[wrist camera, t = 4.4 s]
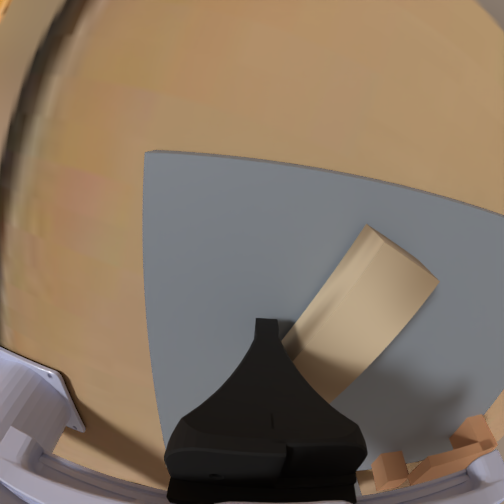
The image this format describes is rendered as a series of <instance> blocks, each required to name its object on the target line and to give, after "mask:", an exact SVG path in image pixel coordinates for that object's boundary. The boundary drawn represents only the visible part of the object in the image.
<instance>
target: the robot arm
mask: <svg viewBox="0 0 504 504" xmlns="http://www.w3.org/2000/svg"><path fill="white" fill-rule="evenodd" d="M278 335H279V325H278V320H277V319H267V318H256V321H255V333H254V340H253V342H252V344H251V346H250V348H249V350H248V351H247V353H246V355H245V356H244V358H243V359H242V361H241V362H240V364H239V365H238V367H237V368H236V369H235V371H234V372H233V373H232V374H231V376H230V377H229V378H228V379H227V380H226V381H225V382H224V384H223V385H222V386H221V387H220V388H219V389H218V390H217V391H216V392H215V393H213V394H212V395H211V396H210V397H209V398H208V399H207V400H205V401H204V402H203V403H202V404H201V405H199V406H198V407H197V408H195V409H194V410H192V411H191V412H189V413H188V414H186V415H185V416H183V417H182V418H181V419H180V421H179V422H178V424H177V425H176V427H175V429H174V431H173V432H172V434H171V437H170V439H169V441H168V444H167V448H166V451H165V455H164V461H165V464H166V467H167V469H168V472H169V474H170V476H171V478H170V482H169V487H168V491H165V490H160V489H156V488H152V487H148V486H144V485H140V484H136V483H132V482H129V481H125V480H122V479H118V478H115V477H112V476H109V475H106V474H103V473H100V472H97V471H94V470H91V469H89V468H86V467H83V466H81V465H78V464H76V463H73V462H71V461H68V460H66V459H64V458H61V457H59V456H57V455H55V454H52V452H53V450H54V448H55V446H56V444H57V442H58V440H59V438H60V436H61V435H62V433H63V431H64V429H65V427H66V426H67V427H69V428H72V429H74V430H77V431H79V432H82V433H83V432H85V430H86V428H85V426H84V424H83V422H82V420H81V418H80V416H79V414H78V412H77V410H76V408H75V406H74V404H73V401H72V399H71V397H70V395H69V392H68V390H67V388H66V385H65V383H64V380H63V378H62V376H61V374H60V373H59V372H57V371H55V370H53V369H50V368H47V367H45V366H42V365H40V364H38V363H35V362H33V361H31V360H28V359H26V358H24V357H21V356H19V355H17V354H15V353H13V352H10V351H8V350H6V349H4V348H2V347H0V504H500V503H501V502H503V501H504V462H503V460H502V458H501V455H500V453H499V451H498V450H494V451H492V452H489V453H487V454H485V455H482V456H480V457H478V458H477V459H475V460H474V461H473V462H472V463H471V464H469V466H468V467H467V468H466V469H463V470H461V471H458V472H455V473H452V474H449V475H447V476H443V477H440V478H437V479H434V480H431V481H427V482H424V483H420V484H417V485H413V486H409V487H405V488H401V489H396V490H392V491H387V492H382V493H377V494H371V495H365V496H358V497H356V493H355V487H354V484H355V483H356V481H357V479H356V473H355V472H356V471H357V469H358V468H359V467H360V466H361V464H362V463H363V462H364V460H365V459H366V457H367V455H368V451H367V446H366V442H365V439H364V437H363V434H362V432H361V430H360V427H359V425H358V424H356V423H355V422H353V421H352V420H350V419H349V418H347V417H346V416H344V415H343V414H341V413H340V412H339V411H337V410H336V409H335V408H333V407H332V406H331V405H330V404H329V403H328V402H327V401H325V400H324V399H323V398H322V397H321V396H320V395H319V394H318V393H317V392H316V391H315V390H314V389H313V388H312V387H311V385H310V384H309V383H308V382H307V381H306V380H305V378H304V377H303V376H302V375H301V373H300V372H299V371H298V369H297V368H296V366H295V365H294V363H293V362H292V360H291V359H290V357H289V355H288V354H287V352H286V350H285V348H284V346H283V344H282V343H281V341H280V338H279V336H278Z"/></svg>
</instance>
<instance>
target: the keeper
mask: <svg viewBox="0 0 504 504" xmlns="http://www.w3.org/2000/svg"><path fill="white" fill-rule="evenodd" d="M449 440H450V442H451V445H452V447H453V449H454V450H451V451H447V452H443V453H440V454H436V455H431V456H428V457H427V458H426V459H424V460H423V461H422V462H421V463H420V464H419V465H418V466H417V467H416V468H415V469H414V470H413V471H412V472H411V473H410V474H409V473H408V470H407V467H406V463H405V460H404V457H403V453H402V451H396V452H389V453H381V454H380V455H379V456H378V457H377V459H376V460H375V461H374V462H373V463H372V464H371V467H372V471H373V476H374V481H375V485H376V490H377V491H381V490H387V489H392V488H397V487H399V486H400V485H401V484H402V483H404V482H405V481H406V480H407V479H409V483H410V486H411V485H415V484H419V483H423V482H427V481H431V480H434V479H437V478H440V477H443V476H447V475H449V474H452V473H455V472H458V471H461V470H463V469H466V468H467V467H468V466H469V464H471V463H472V462H473V461H474V460H475V459H477V458H478V457H480V456H482V455H485V454H487V453H489V452H492V451H493V450H494V449H495V448H496V446H497V442H496V440H495V438H494V436H493V434H492V432H491V430H490V428H489V427H488V425H487V423H486V421H485V419H484V417H483V415H482V414H480V415H476V416H472V417H468V418H466V420H465V421H464V422H463V423H462V424H461V426H460V427H459V428H458V429H457V430H456V431H455V432H454V434H453V435H452V436H451V437H450V438H449Z"/></svg>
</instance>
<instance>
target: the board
mask: <svg viewBox="0 0 504 504" xmlns="http://www.w3.org/2000/svg"><path fill="white" fill-rule="evenodd" d="M366 224H368V225H369V226H371V227H372V228H374V229H375V230H377V231H378V232H380V233H381V234H383V235H384V236H386V237H387V238H388V239H390V240H391V241H393V242H394V243H396V244H397V245H399V246H400V247H401V248H403V249H404V250H406V251H407V252H408V253H410V254H411V255H413V256H414V257H415V258H417V259H418V260H419V261H420V262H421V263H422V264H423V265H424V266H425V267H426V268H427V269H428V270H429V271H430V272H431V273H432V274H433V275H434V276H435V277H436V278H437V279H438V280H439V281H440V282H439V283H438V285H437V286H436V288H435V289H434V290H433V292H432V293H431V294H430V296H429V297H428V298H427V299H426V301H425V302H424V303H423V305H422V306H421V307H420V308H419V310H418V311H417V312H416V313H415V315H414V316H413V317H412V318H411V319H410V321H409V322H408V323H407V324H406V325H405V327H404V328H403V329H402V330H401V331H400V332H399V334H398V335H397V336H396V337H395V338H394V339H393V340H392V341H391V343H390V344H389V345H388V346H387V347H386V348H385V349H384V350H383V351H382V352H381V354H380V355H379V356H378V357H377V358H376V359H375V360H374V361H373V362H372V363H371V364H370V365H369V366H368V367H367V368H366V369H365V370H364V371H363V372H362V373H361V374H360V375H359V376H358V377H357V378H356V379H355V380H354V381H353V382H352V383H351V384H350V385H349V386H348V387H347V388H346V389H345V390H344V391H343V392H342V393H341V394H339V395H338V396H337V397H336V398H335V399H334V400H333V401H332V402H331V403H330V405H331V406H332V407H333V408H335V409H336V410H337V411H339V412H340V413H341V414H343V415H344V416H346V417H347V418H349V419H350V420H352V421H353V422H355V423H356V424H358V425H359V427H360V430H361V432H362V434H363V437H364V439H365V442H366V446H367V451H368V455H367V457H366V459H365V460H364V462H363V463H362V464H361V466H360V467H359V468H358V469H357V471H359V470H368V469H372V467H371V464H372V463H373V462H374V461H375V460H376V459H377V457H378V456H379V455H380V454H381V453H389V452H396V451H402V453H403V457H404V460H405V463H406V464H407V463H412V462H417V461H422V460H424V459H426V458H427V457H428V456H431V455H436V454H440V453H443V452H447V451H451V450H453V447H452V445H451V442H450V440H449V438H450V437H451V436H452V435H453V434H454V432H455V431H456V430H457V429H458V428H459V427H460V426H461V424H462V423H463V422H464V421H465V420H466V418H468V417H472V416H476V415H480V414H482V415H484V414H485V413H486V411H487V410H488V409H489V408H490V406H491V405H492V404H493V403H494V401H495V400H496V399H497V397H498V396H499V395H500V393H501V392H502V390H503V389H504V215H501V214H498V213H495V212H493V211H490V210H487V209H484V208H481V207H477V206H474V205H471V204H468V203H465V202H461V201H458V200H455V199H451V198H448V197H444V196H441V195H437V194H434V193H430V192H426V191H423V190H419V189H415V188H411V187H407V186H403V185H399V184H395V183H390V182H386V181H382V180H377V179H373V178H368V177H363V176H358V175H353V174H348V173H343V172H338V171H333V170H327V169H322V168H316V167H310V166H304V165H298V164H291V163H284V162H277V161H270V160H263V159H255V158H246V157H238V156H228V155H218V154H207V153H195V152H182V151H165V150H153V151H149V152H145V159H144V180H143V268H144V289H145V305H146V318H147V329H148V340H149V349H150V358H151V366H152V373H153V381H154V388H155V394H156V401H157V407H158V413H159V418H160V424H161V429H162V434H163V439H164V444H165V449H166V448H167V444H168V441H169V439H170V437H171V434H172V432H173V431H174V429H175V427H176V425H177V424H178V422H179V421H180V419H181V418H182V417H183V416H185V415H186V414H188V413H189V412H191V411H192V410H194V409H195V408H197V407H198V406H199V405H201V404H202V403H203V402H204V401H205V400H207V399H208V398H209V397H210V396H211V395H212V394H213V393H215V392H216V391H217V390H218V389H219V388H220V387H221V386H222V385H223V384H224V382H225V381H226V380H227V379H228V378H229V377H230V376H231V374H232V373H233V372H234V371H235V369H236V368H237V367H238V365H239V364H240V362H241V361H242V359H243V358H244V356H245V355H246V353H247V351H248V350H249V348H250V346H251V344H252V342H253V340H254V333H255V321H256V318H267V319H277V320H278V325H279V335H278V336H279V338H280V341H282V339H283V338H284V337H285V336H286V334H287V333H288V332H289V330H290V329H291V328H292V327H293V325H294V324H295V323H296V321H297V320H298V319H299V318H300V316H301V315H302V314H303V312H304V311H305V310H306V308H307V307H308V306H309V304H310V303H311V302H312V300H313V299H314V298H315V296H316V295H317V294H318V292H319V291H320V290H321V288H322V287H323V285H324V284H325V283H326V281H327V280H328V279H329V277H330V276H331V274H332V273H333V272H334V270H335V269H336V267H337V266H338V264H339V263H340V262H341V260H342V259H343V257H344V256H345V254H346V253H347V252H348V250H349V249H350V247H351V246H352V244H353V243H354V241H355V240H356V238H357V237H358V235H359V234H360V232H361V231H362V229H363V228H364V226H365V225H366Z"/></svg>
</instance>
